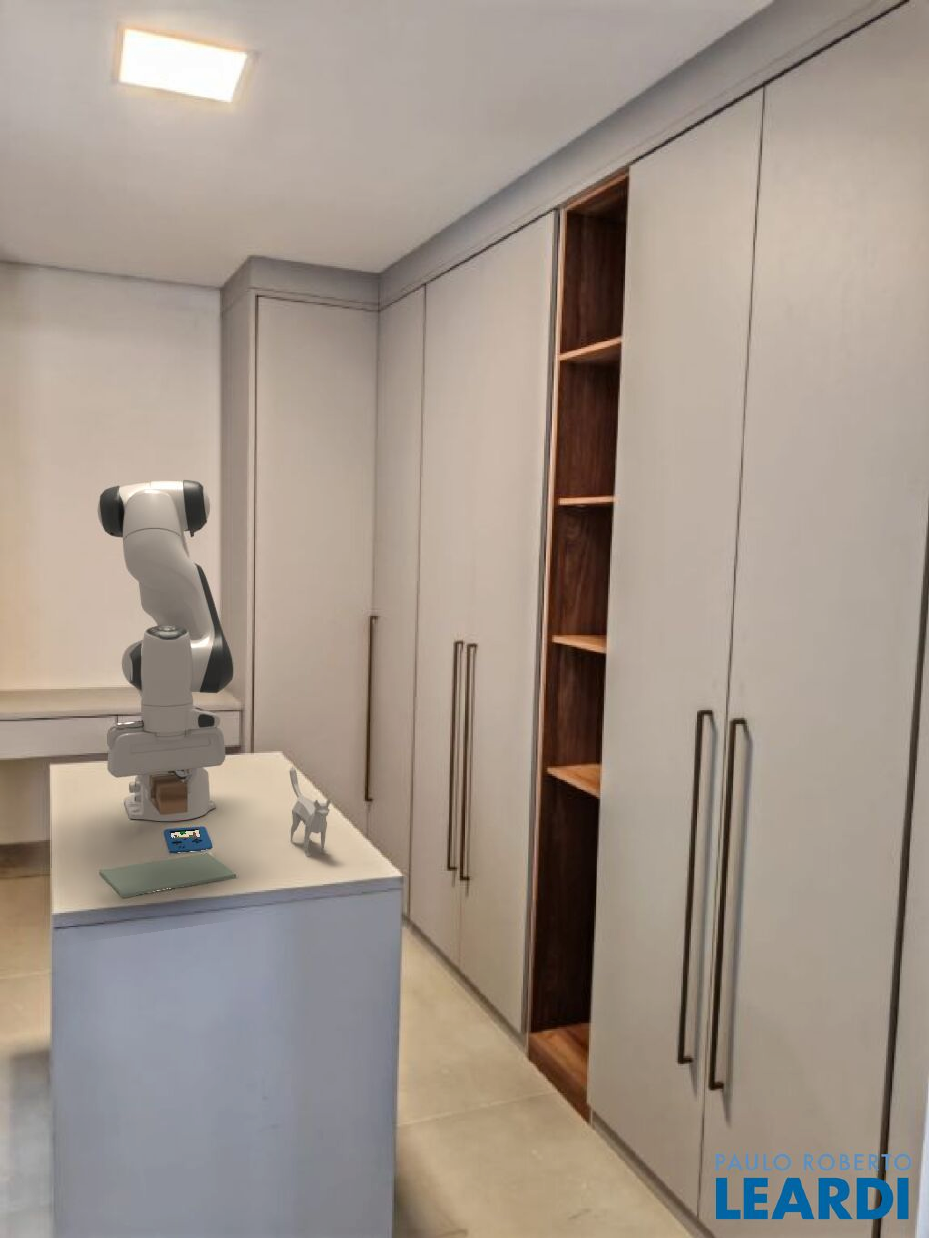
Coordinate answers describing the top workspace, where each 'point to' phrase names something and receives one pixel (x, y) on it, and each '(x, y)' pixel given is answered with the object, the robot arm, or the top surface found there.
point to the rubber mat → (166, 874)
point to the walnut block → (169, 793)
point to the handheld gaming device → (187, 840)
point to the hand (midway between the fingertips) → (167, 795)
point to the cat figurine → (308, 814)
